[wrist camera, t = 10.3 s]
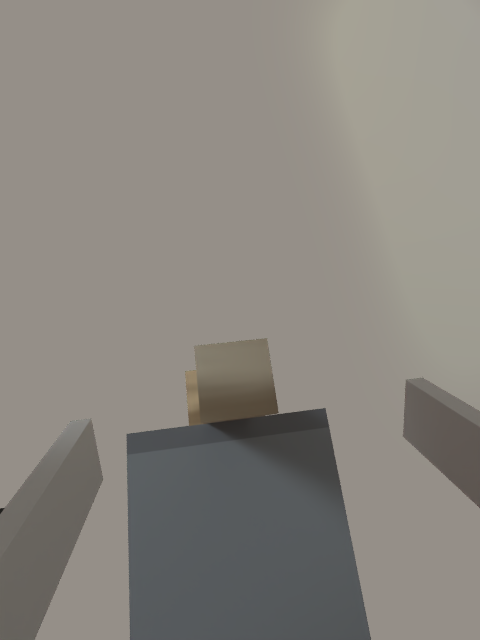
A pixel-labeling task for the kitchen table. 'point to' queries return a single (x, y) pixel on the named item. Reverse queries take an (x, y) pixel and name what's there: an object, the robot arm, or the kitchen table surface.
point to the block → (230, 382)
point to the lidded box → (241, 533)
